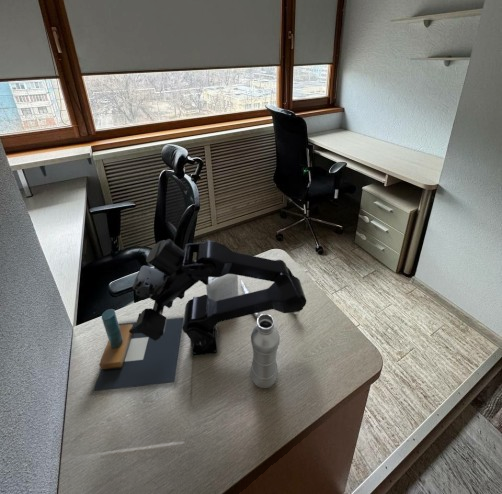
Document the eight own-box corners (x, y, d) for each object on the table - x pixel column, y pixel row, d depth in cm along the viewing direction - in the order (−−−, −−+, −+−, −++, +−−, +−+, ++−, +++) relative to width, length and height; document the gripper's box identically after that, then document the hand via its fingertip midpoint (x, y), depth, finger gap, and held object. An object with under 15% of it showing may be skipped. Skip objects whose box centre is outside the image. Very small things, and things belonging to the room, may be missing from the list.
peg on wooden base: (134, 331, 77) (125, 296, 72) (122, 370, 68) (111, 332, 63) (116, 333, 77) (105, 298, 71) (102, 372, 67) (88, 334, 62)
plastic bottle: (249, 364, 69) (248, 309, 62) (275, 361, 70) (277, 307, 62) (251, 393, 63) (251, 337, 56) (279, 390, 64) (283, 334, 56)
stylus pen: (261, 316, 81) (261, 312, 81) (253, 320, 80) (253, 315, 80) (244, 280, 94) (244, 276, 93) (237, 282, 93) (236, 278, 93)
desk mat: (183, 318, 81) (183, 317, 81) (174, 382, 66) (174, 381, 65) (118, 324, 80) (118, 323, 79) (93, 392, 64) (92, 391, 64)
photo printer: (233, 291, 90) (232, 262, 86) (240, 300, 87) (239, 271, 82) (205, 306, 85) (202, 276, 80) (211, 316, 82) (208, 286, 77)
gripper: (162, 236, 71) (122, 269, 74) (142, 296, 54) (92, 336, 56) (192, 259, 75) (154, 290, 78) (183, 322, 58) (134, 358, 60)
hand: (136, 314), depth 68 cm, fingers open, 9 cm apart
